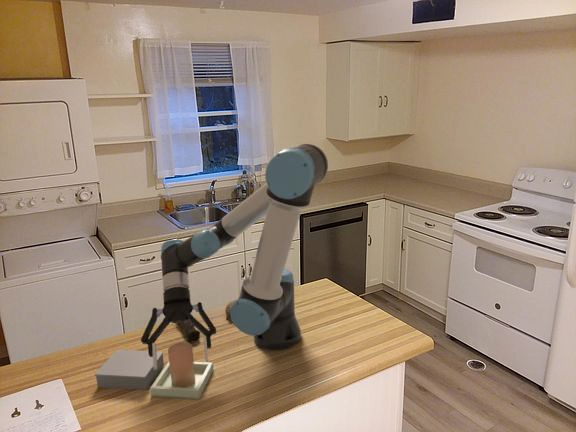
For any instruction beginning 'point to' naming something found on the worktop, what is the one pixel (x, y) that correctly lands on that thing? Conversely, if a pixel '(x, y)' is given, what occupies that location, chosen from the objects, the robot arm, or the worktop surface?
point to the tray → (166, 389)
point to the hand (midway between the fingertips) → (181, 364)
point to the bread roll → (229, 309)
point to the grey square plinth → (129, 370)
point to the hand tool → (190, 331)
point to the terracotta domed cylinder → (181, 365)
